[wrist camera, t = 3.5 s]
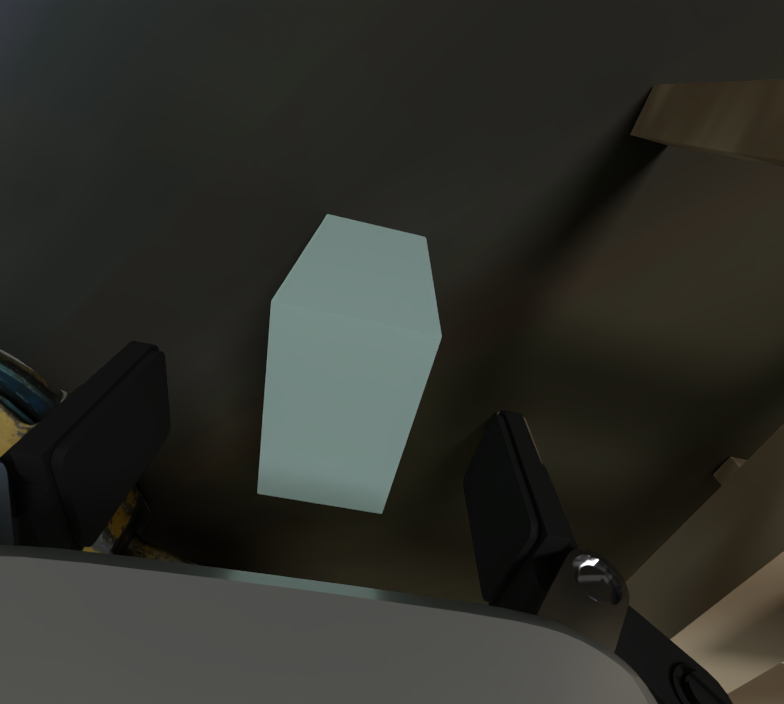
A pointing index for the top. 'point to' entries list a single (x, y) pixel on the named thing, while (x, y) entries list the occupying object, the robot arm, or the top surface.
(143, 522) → the pulley block
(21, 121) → the top surface
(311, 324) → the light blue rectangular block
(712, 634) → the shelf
